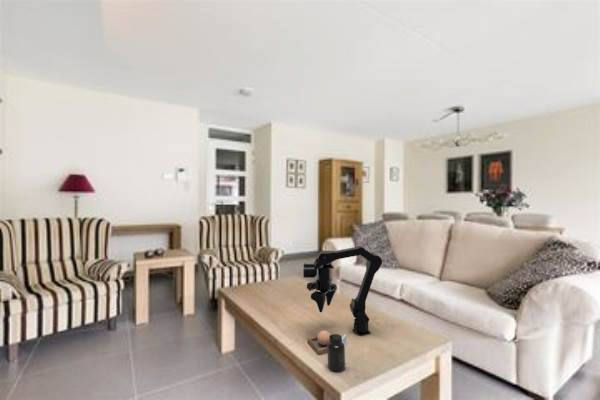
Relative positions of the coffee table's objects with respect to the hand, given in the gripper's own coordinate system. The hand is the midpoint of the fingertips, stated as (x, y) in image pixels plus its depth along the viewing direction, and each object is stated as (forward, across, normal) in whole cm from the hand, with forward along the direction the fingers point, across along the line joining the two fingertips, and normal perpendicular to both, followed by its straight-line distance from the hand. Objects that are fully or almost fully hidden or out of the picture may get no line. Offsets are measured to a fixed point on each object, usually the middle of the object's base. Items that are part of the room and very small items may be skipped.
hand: (324, 308), depth 138 cm
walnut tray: (+12, +12, +4) cm, 17 cm away
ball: (+11, +12, +4) cm, 17 cm away
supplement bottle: (+12, +24, +15) cm, 31 cm away
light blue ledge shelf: (+12, +12, +12) cm, 21 cm away
